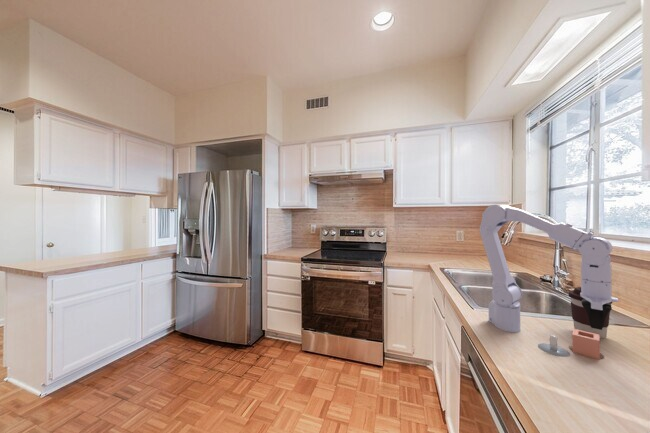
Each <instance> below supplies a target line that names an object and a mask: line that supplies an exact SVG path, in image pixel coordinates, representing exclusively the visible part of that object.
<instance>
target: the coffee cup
mask: <svg viewBox="0 0 650 433" xmlns="http://www.w3.org/2000/svg"><path fill="white" fill-rule="evenodd" d="M580 293H581V286H576V287H574V289H573V290H569V291H568V293H567V294H568V297H569V298H570V309H571V317H572V320H573V329H578V330H582V331H586V332H590V333H595V334H599V339H607V338H608V336H607V335H608V327H609V326H610V317H611V316H610V314H611V311H610V312H609V313H608V314H607V316H606V318H605V322H604V326H603V328H602V330H599V329H595V328H591V326H590V323H589V319H588V315H587V312H586V310H585V308H584V307H583V305H582V300H586V299H584V298H583V297H581V296H580ZM609 303H610V304H611V305H612V304H613V301H612V302H609Z"/></svg>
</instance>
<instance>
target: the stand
mask: <svg viewBox="0 0 650 433" xmlns="http://www.w3.org/2000/svg"><path fill="white" fill-rule="evenodd" d="M537 348H538V349H540V351H543V352H544V353H546V354H549V355H552V356H557V357H562V358H563V357H564V358H568V357H570V356H571V352H570V351H569V350H568V349H565V348H564V347H561V346H558V336H557V335H555V334H549V343H545V342H544V343H538V344H537Z"/></svg>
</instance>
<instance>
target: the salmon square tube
mask: <svg viewBox="0 0 650 433" xmlns="http://www.w3.org/2000/svg"><path fill="white" fill-rule="evenodd" d="M571 336H572V337H571V338H572V341H571V342H572V345H573V351H572V353H574V352H575V353H574V354H576V353H579V354H582V355H586V356H590V357H593V358H597V359H596V360H601V359H600V353H601V350H600V349H601V348H600V347H601V346H600V344H601V343H600V339H601V338H599V334H595V333H590V332H586V331H582V330H578V329H574V328H573V329H572V335H571ZM579 354H578V355H579Z"/></svg>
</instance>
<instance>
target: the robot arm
mask: <svg viewBox="0 0 650 433" xmlns="http://www.w3.org/2000/svg"><path fill="white" fill-rule="evenodd" d="M481 216H482V218H481V221H480V226H479V230H478V231H479V234H480V237H481V241H482V244H483V247H484V251H485V254H486V257H487V260H488V264H489V268H490V271H491V274H492V282H491V287H492V291H491V298H492V300H491V301H490V302H489V303H488V322H490V323H491V324H492V325H494V326H495V327H496V328H498V329H499V330H502V331H503V332H504V331H505V332H510V333H518V332H521V303H520V301H519V300H520V299H522V298H523V291H522V289H521V287H519V285H518V284H517V282H516V279H515V278H514V277H513V276H512V274H511V272H510V269H509V265H508V262H507V260H506V256H505V251H504V249H503V247H502V242H501V240H500V237H499V234H498V232H499V231H500V229H501V228H502V227H503V226H504V225H506V224H507V223H509V222H518V223H519V222H520V223H522V224H525V225H527V226H530V227H532V228H535V229H537V230H539V231H542V232H545V233H546V234H547V235H548V237H549V239H550V240H552V241H554V242H557V243H559V244H561V245H563V246H566V247H567V248H569V249H572V250H573V251H575V250H578V252H579V254H580V255H581V263H580V287H581V293H580V296H581V297H583V298H584V299H586V300H582V305H583V307H584V308H585V310H586V312H587V315H588V319H589V323H590V326H591V328H595V329H599V330H602V328H603V326H604V322H605V318H606V316H607V314H608V313H609V312H610V313H611V311H612V310H613V308H612V304H610V303H609V302H612V301H613V302H614V303H618V302H619V298H617V297H615V296H612V287H613V286H612V265H611V262H612V259H611V255H610V254H611V252H613V245H612V242H610V241H609V240H608V239H606V238H604V237H603V236H599V235H594V233H593V232H591V231H588V232H586V231H584V230H582V229H579V228H576V227H574V224H572V223H569V222H567V223H564V222H558V223H552V222H550V221H548V220H546V219H544V218H541V217H539V216H537V215H534V214H532V213H530V212H527V211H525V210H523V209H520V208H518V207H513V206H510V205H508V204H500V205H499V204H492V205H489V206H487V207H486V208H485V210H484V211H483V212H482V213H481ZM613 302H612V303H613Z"/></svg>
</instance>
